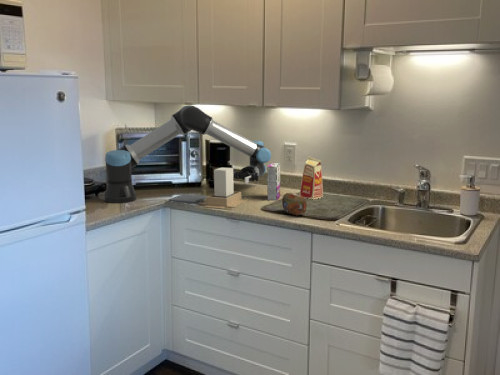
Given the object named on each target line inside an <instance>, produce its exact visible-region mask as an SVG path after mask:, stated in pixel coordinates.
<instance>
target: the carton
mask: <svg viewBox="0 0 500 375" xmlns="http://www.w3.org/2000/svg"><path fill="white" fill-rule="evenodd" d="M206 196H207V197H206V199H205V201H204V202H202V203H200V205H201V206H203V207H204V208H211V209H219V210H221V209H224V208H233V209H234V208H236V207H238V206H240V205H242V204H244V203H246V202H248V200H247V199H244V198H243V197H242V191H236V190H234V195H232V196H230V197H227V198H217V197H215V193H213V194H210V195H206Z"/></svg>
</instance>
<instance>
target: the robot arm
mask: <svg viewBox="0 0 500 375" xmlns="http://www.w3.org/2000/svg"><path fill="white" fill-rule="evenodd" d="M191 131H193V132H196V133H199V134H200V135H202V136H204V135H207V136H209V137H211V138H213V139H215V140H216V141H219V142H220V143H223V144H224V145H227V146H228V147H230V148H232V149H234V150H236V151H238V152H240V153H242V154H244V155H246V156H248V157H249V165H246V166H244V167H242V168H241V170H240V171H234V170H233V179H236V180H238V179H239V180H240V179H241V180H243V182H244V184H248V183H251V182H254V181H255V182H259V178H261V177H263V176H265V174H266V173H267V166H266V164H265V163H268V162H269V161H270V160H271V158H272V152H271V151H270V150H269V149H268V148H267V147H265V146H264V142H263V141H262V140H252V139H249V138H247V137H245V136H244V135H242V134H240V133H238V132H236V131H234V130H232V129H230V128H228V127H227V126H224V125H223V124H221V123H219V122H217V121H215V120H214V119H213V116H210V115H208V114H207V113H205V112H204V111H203V110H202V109H200V108H199V107H197V106H195V105H191V104H189V105H184V106H183V107H181V108H180V109H179V110H178V111H176V112H175V113H173V114H172V115H171V117H170V119H169V120H168V121H166V122H165V123H163V124H162V125H160V126H159V127H156V129H154V130H152V131H150V132H149V133H147V134H146V135H144V136H143V137H141V138H139V139H138V140H136V141H135V142H133V143H132V144H125V145H123V146H121V147H120V148H118V149H114V150H109V151H107V152H106V153H105V157H104V161H105V168H106V171H105V172H106V173H105V175H106V187H105V191H104V195H103V200H104V202H106V203H111V204H114V203H115V204H118V203H119V204H121V203H129V202H134V201H136V200H137V193H136V191H135V188H134V185H133V180H132V179H133V178H132V177H133V176H132V175H133V174H132V169H133V168H134V167H136V166H138V165H139V164H140V160H141V159H143V158H145V157H146V156H148V155H149V154H150V153H153V152H154V151H155V150H157V149H158V148H159V149H160V147H162V146H164V145H165V144H166V143H168V142H170V141H171V140H173V139H175V138H177V137H178V136H179V135H183V136H185V135H186V134H188V133H189V132H191Z"/></svg>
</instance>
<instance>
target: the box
mask: <svg viewBox="0 0 500 375" xmlns="http://www.w3.org/2000/svg"><path fill="white" fill-rule="evenodd" d="M233 172H234V167H219V168H216V169H213V185H214V189H213V190H214V191H213V192H214V193H213V194H215V197H217V198H227V197H230V196H232V195H234V191H235V190H234V188H235V187H234V178H233Z"/></svg>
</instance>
